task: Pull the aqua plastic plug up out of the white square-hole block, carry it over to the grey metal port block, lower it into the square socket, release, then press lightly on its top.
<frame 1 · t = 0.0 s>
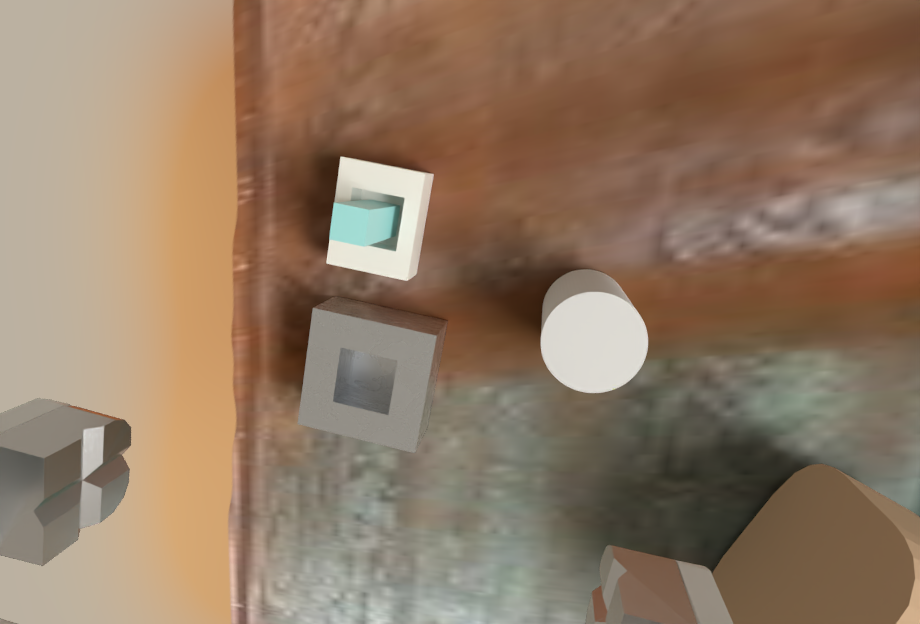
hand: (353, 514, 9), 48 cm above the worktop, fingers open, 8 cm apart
plug: (383, 217, 56), point 1 cm above the worktop, touching white square-hole block
alarm clock: (784, 541, 58), on the worktop
white square-hole block: (386, 217, 57), on the worktop
cup: (584, 310, 56), on the worktop
port: (382, 362, 61), on the worktop
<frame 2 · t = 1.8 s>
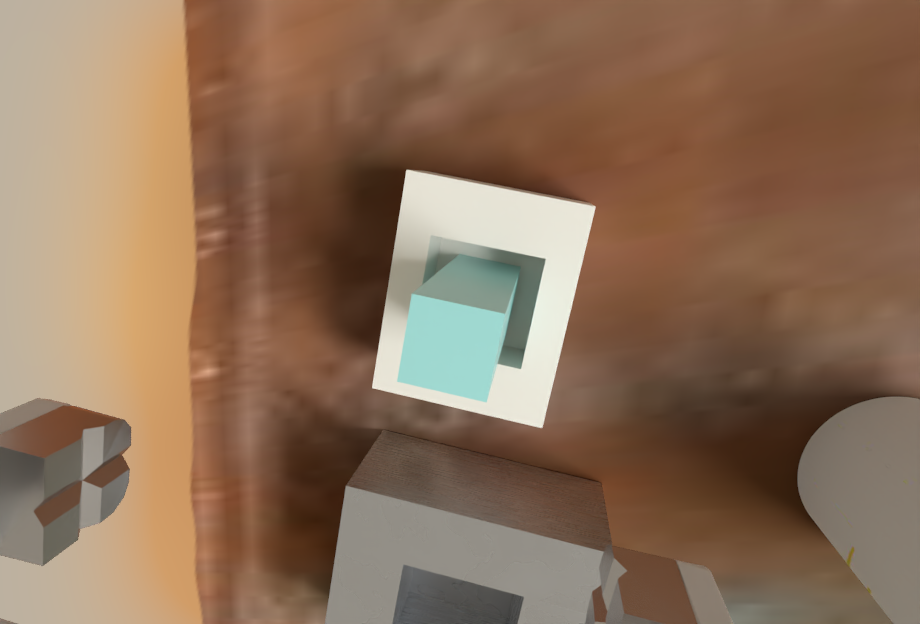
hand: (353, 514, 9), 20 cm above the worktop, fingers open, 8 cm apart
plug: (484, 290, 28), point 1 cm above the worktop, touching white square-hole block
white square-hole block: (486, 286, 29), on the worktop
cup: (885, 473, 28), on the worktop
port: (469, 550, 32), on the worktop
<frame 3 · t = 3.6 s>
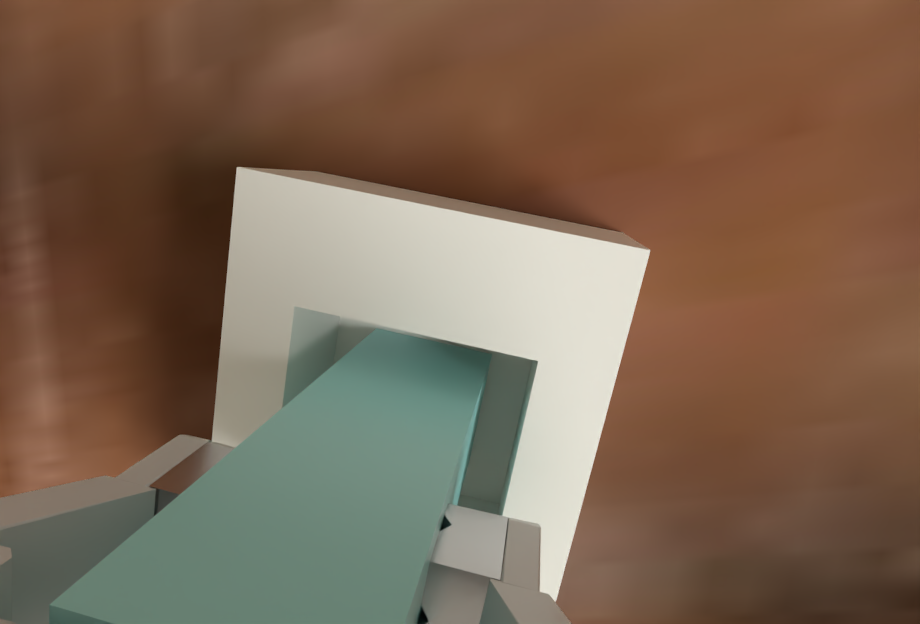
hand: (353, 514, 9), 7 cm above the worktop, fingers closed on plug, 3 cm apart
plug: (423, 395, 15), point 1 cm above the worktop, touching gripper, white square-hole block
white square-hole block: (431, 382, 16), on the worktop
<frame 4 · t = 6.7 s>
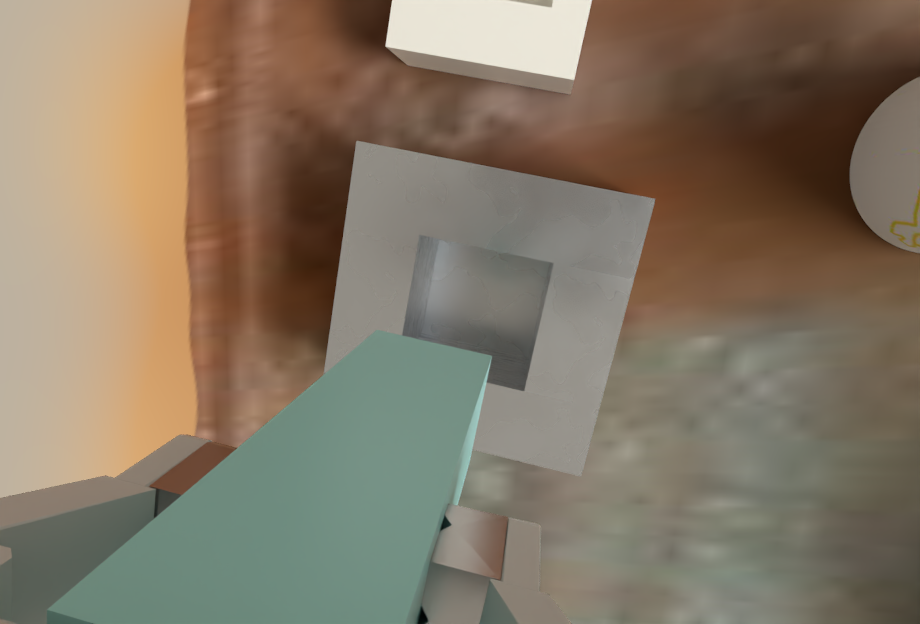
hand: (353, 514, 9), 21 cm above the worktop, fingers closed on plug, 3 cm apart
plug: (423, 397, 15), point 16 cm above the worktop, touching gripper
port: (487, 289, 30), on the worktop
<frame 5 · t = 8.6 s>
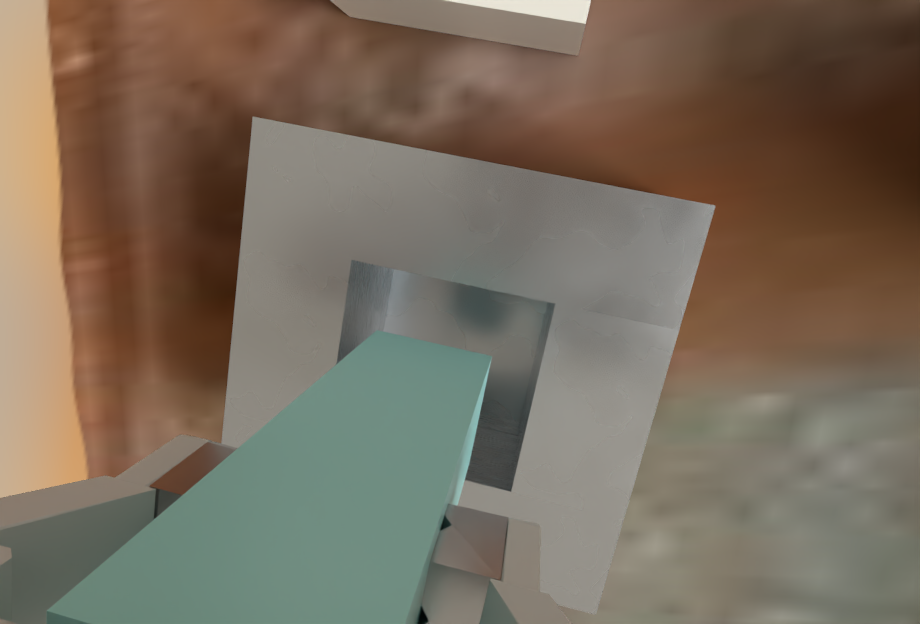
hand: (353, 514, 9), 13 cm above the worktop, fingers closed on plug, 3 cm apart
plug: (423, 397, 15), point 7 cm above the worktop, touching gripper
port: (463, 326, 22), on the worktop
when the fingers open (7 cm above the worktop, at t = 9.9 s): plug stays where it is, resting on port.
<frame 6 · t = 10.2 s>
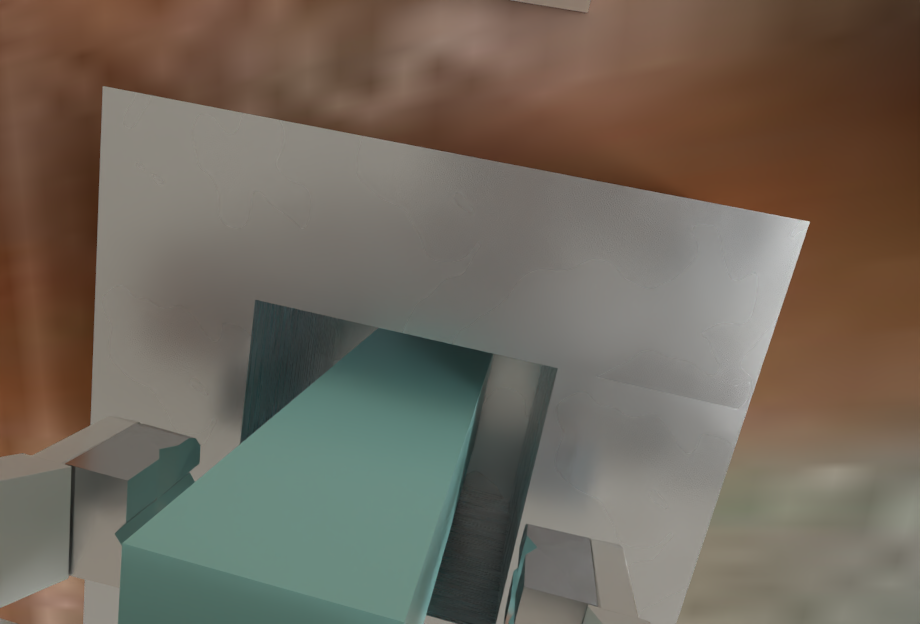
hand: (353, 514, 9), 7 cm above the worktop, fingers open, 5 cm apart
plug: (430, 384, 16), point 1 cm above the worktop, touching port
port: (437, 373, 17), on the worktop
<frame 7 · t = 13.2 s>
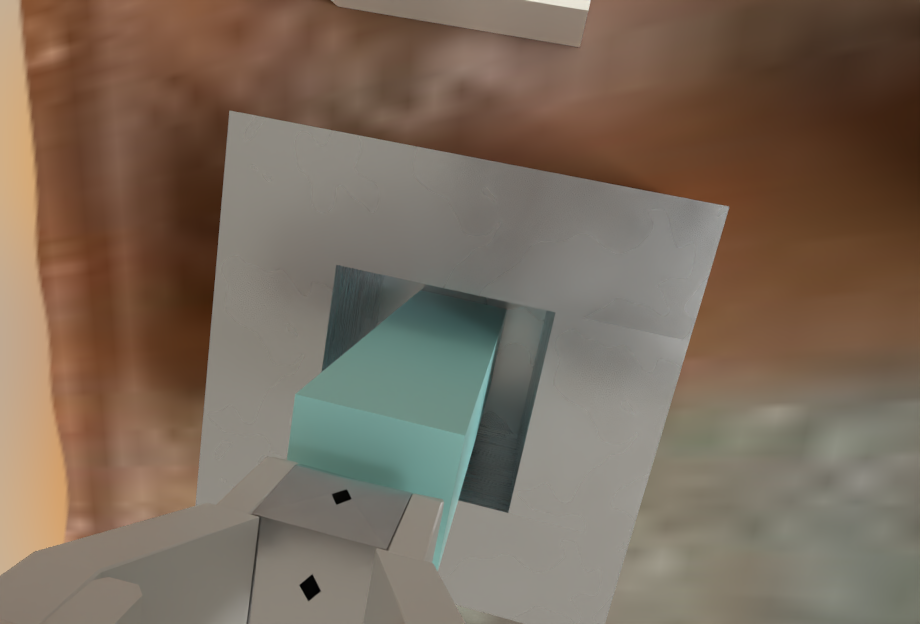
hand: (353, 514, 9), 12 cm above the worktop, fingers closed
plug: (455, 341, 20), point 1 cm above the worktop, touching port
port: (459, 333, 21), on the worktop
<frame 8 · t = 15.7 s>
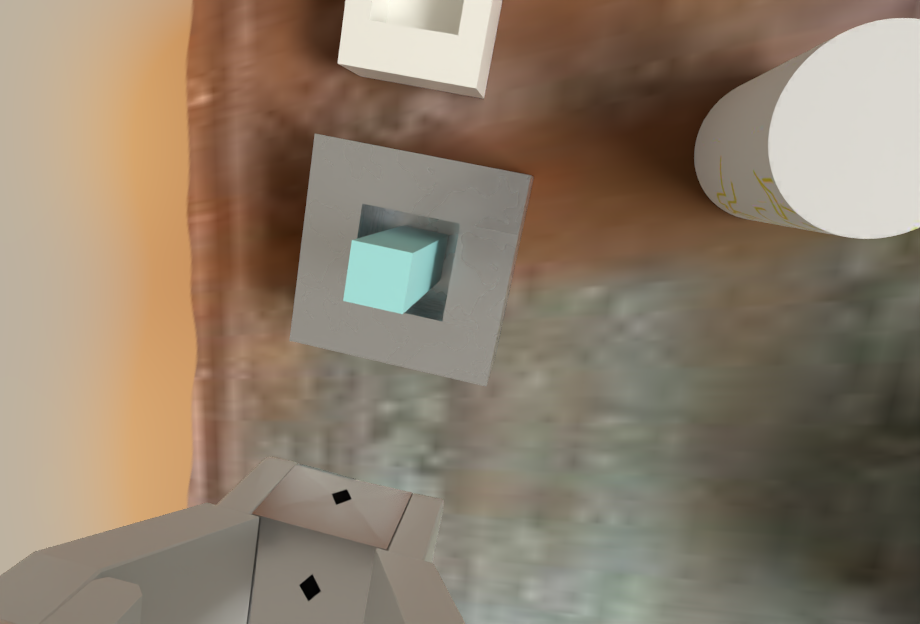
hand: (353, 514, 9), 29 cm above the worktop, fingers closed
plug: (421, 253, 37), point 1 cm above the worktop, touching port
white square-hole block: (435, 0, 35), on the worktop
cup: (765, 150, 34), on the worktop
port: (424, 251, 38), on the worktop
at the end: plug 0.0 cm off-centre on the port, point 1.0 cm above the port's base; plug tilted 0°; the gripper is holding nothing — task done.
